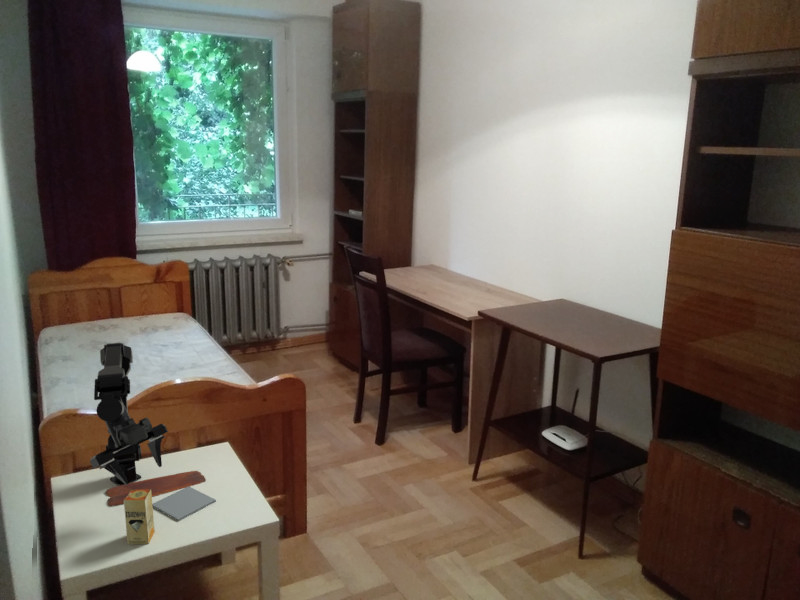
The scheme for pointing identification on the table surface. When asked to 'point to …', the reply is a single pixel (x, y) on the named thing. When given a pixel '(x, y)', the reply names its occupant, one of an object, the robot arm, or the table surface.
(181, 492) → the slate mat
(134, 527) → the shoe polish box
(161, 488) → the wooden tablet
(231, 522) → the table surface
